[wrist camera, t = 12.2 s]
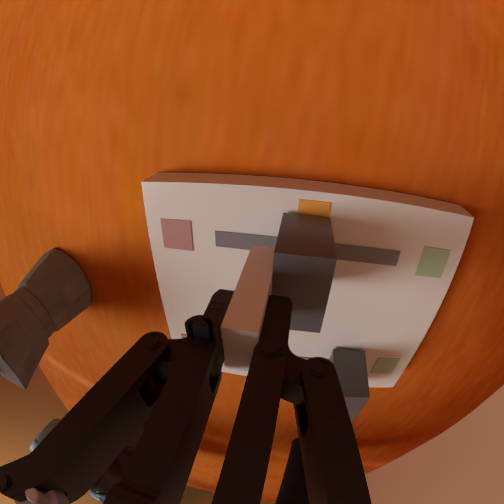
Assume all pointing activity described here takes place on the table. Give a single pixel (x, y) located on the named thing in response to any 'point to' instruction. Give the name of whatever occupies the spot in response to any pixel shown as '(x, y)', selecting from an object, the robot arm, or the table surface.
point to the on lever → (352, 378)
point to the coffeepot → (39, 313)
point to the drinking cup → (294, 479)
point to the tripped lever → (304, 268)
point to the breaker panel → (347, 252)
